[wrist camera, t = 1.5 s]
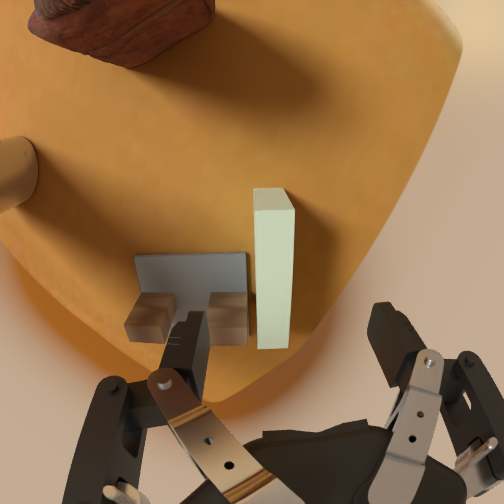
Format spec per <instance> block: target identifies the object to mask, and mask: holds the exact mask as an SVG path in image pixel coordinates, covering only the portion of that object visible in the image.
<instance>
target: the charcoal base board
mask: <svg viewBox="0 0 504 504" xmlns="http://www.w3.org/2000/svg"><path fill="white" fill-rule="evenodd" d="M133 258H134V262H135V267H136V271H137V275H138V279H139V283H140V287H141V291H142V292H166V293H174V297H175V302H176V307H177V310H176V313H175V315H174V318H173V321H172V324H171V327H170V330H169V333H168V336H167V337H169V335H170V332H171V329H172V328H173V327H174V326H175V324H176V323H177V322H178V321H186V319H187V316H188V312H189V311H205V312H206V315H207V310H208V305H209V301H210V296H211V292H247V270H246V252H221V253H186V254H151V255H135V256H134V257H133ZM247 297H248V294H247ZM248 337H249V316H248Z"/></svg>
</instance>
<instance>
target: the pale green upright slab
mask: <svg viewBox="0 0 504 504" xmlns="http://www.w3.org/2000/svg"><path fill="white" fill-rule="evenodd" d="M253 199H254V237H255V275H256V312H257V340H258V349H277V348H288V341H289V327H290V312H291V295H292V276H293V253H294V223H295V209H294V207H293V206H292V204H291V202H290V200H289V198H288V196H287V194H286V193H285V191H284V189H283V188H253Z"/></svg>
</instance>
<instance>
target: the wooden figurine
mask: <svg viewBox="0 0 504 504" xmlns="http://www.w3.org/2000/svg"><path fill="white" fill-rule="evenodd" d="M34 5H35V10H34V12H33V13H32V15H31V17H30V19H29V21H28V29H29V30H30V32H31V33H32V34H34V35H36V36H37V37H40V38H41V39H44V40H45V41H48V42H50V43H52V44H55V45H58V46H60V47H63V48H66V49H68V50H71V51H74V52H79V53H82V54H83V55H90V56H91V57H93V58H96V59H99V60H101V61H103V62H107V63H111V64H115V65H118V66H121V67H126V68H131V67H135V66H137V65H140V64H143V63H146V62H148V61H150V60H151V59H153V58H154V57H156V56H157V55H159V54H160V53H162V52H163V51H165V50H166V49H167V48H169V47H171V46H172V45H174V44H175V43H177V42H178V41H180V40H182V39H184V38H186V37H187V36H189V35H191V34H193V33H195V32H196V31H198V30H200V29H201V28H203V27H205V26H206V25H208V24H209V23H210V22H211V20H212V18H213V17H214V14H215V0H34Z"/></svg>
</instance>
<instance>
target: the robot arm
mask: <svg viewBox="0 0 504 504" xmlns="http://www.w3.org/2000/svg"><path fill="white" fill-rule="evenodd" d="M37 179H38V162H37V156H36V153H35V150H34V148H33V146H32V144H31V143H30V142H29V141H28V140H27V139H26V138H24V137H22V136H15V137H10V138H5V139H1V140H0V214H1V213H3V212H5V211H7V210H9V209H11V208H13V207H15V206H17V205H19V204H21V203H23V202H25V201H26V200H28V199H29V198H30V197H31V196H32V194H33V192H34V190H35V187H36V184H37ZM367 335H368V339H369V342H370V344H371V346H372V348H373V350H374V352H375V355H376V357H377V359H378V361H379V364H380V366H381V368H382V370H383V373H384V375H385V377H386V380H387V382H388V384H389V387H390V388H392V387H397V386H399V388H400V391H399V392H398V394H397V398H396V400H395V403H394V405H393V408H392V411H391V413H390V415H389V418H388V420H387V422H386V424H385V426H384V428H382V427H378V426H370V425H368V422H367V419H363V420H359V421H353V422H347V423H342V424H340V425H337V426H335V427H332V428H329V429H327V430H324V431H322V432H317V433H315V432H304V431H296V430H278V431H277V430H276V431H263V438H259V439H256V440H253V441H250V442H248V443H246V444H244V445H243V446H242V445H241V444H240V443H239V442H238V441H237V440H236V439H235V437H234V436H233V435H232V434H231V433H230V432H229V431H228V429H227V428H226V427H225V426H224V425H223V424H222V422H221V421H220V420H219V419H218V418H217V417H216V415H215V414H214V413H213V412H212V411H211V409H210V408H208V407H207V406H205V407H204V406H203V405H202V404H201V402H202V396H203V389H204V383H205V376H206V369H207V363H208V356H209V350H210V334H209V328H208V322H207V316H206V312H205V311H189V312H188V316H187V319H186V321H178V322H177V323H176V324H175V326H174V327H173V328H172V329H171V332H170V335H169V338H168V341H167V345H166V347H165V350H164V353H163V357H162V360H161V363H160V366H159V369H158V370H156V371H154V372H152V373H151V374H150V376H149V377H148V379H147V380H144V381H139V382H133V383H127V382H126V381H125V379H123V378H122V377H119V376H109V377H106V378H104V379H103V380H101V382H100V383H99V384H98V386H97V388H96V391H95V393H94V396H93V399H92V402H91V404H90V407H89V410H88V413H87V416H86V419H85V422H84V425H83V428H82V431H81V434H80V437H79V440H78V444H77V447H76V450H75V453H74V457H73V461H72V464H71V468H70V471H69V475H68V479H67V483H66V488H65V492H64V496H63V501H62V504H150V502H149V500H148V498H147V497H146V496H145V495H144V494H142V493H141V492H139V491H138V484H139V477H140V470H141V463H142V457H143V451H144V446H145V440H146V434H147V429H148V428H151V427H157V426H163V425H168V427H169V428H170V430H171V431H172V433H173V434H174V436H175V437H176V439H177V440H178V442H179V444H180V445H181V446H182V448H183V449H184V451H185V452H186V454H187V455H188V457H189V458H190V460H191V461H192V463H193V464H194V465H195V467H196V468H197V469H198V471H199V472H200V473H201V475H202V476H203V477H204V479H205V481H204V482H203V483H202V484H201V485H200V486H199V487H198V488H197V489H196V490H195V491H194V492H192V493H191V494H190V495H189V496H188V497H187V498H186V499H184V500H183V501H182V502H181V503H180V504H466V500H467V499H469V498H471V497H478V496H480V495H482V494H484V493H486V492H487V491H489V490H490V489H492V488H494V487H495V486H497V485H498V484H500V483H501V482H503V481H504V399H503V397H502V395H501V394H500V392H499V390H498V388H497V386H496V384H495V382H494V381H493V379H492V377H491V376H490V374H489V372H488V371H487V369H486V367H485V366H484V364H483V363H482V361H481V359H480V358H479V356H477V355H476V354H475V353H473V352H471V351H463V352H461V353H460V354H459V356H458V358H457V359H443V357H442V356H441V354H440V353H438V352H437V351H435V350H432V349H427V347H426V346H425V344H424V343H423V341H422V340H421V338H420V336H419V335H418V333H417V332H416V330H415V329H414V327H413V326H412V325H411V323H410V321H409V320H408V318H407V317H406V316H405V315H404V314H403V313H401V312H400V311H396V310H395V309H394V307H393V306H392V304H391V303H390V302H380V303H375V304H374V306H373V308H372V312H371V316H370V320H369V324H368V328H367ZM464 392H466V394H467V396H468V398H469V400H470V402H471V410H470V409H469V406H468V404H467V402H466V400H465V398H464V396H463V394H464ZM439 410H440V412H441V415H442V417H443V420H444V422H445V425H446V427H447V430H448V433H449V436H450V438H451V441H452V444H453V447H454V450H455V453H456V456H457V459H456V462H455V468H454V470H452V469H450V468H448V467H447V466H445V465H443V464H442V463H440V462H438V461H437V460H435V459H433V458H432V457H430V456H429V455H427V454H428V450H429V447H430V444H431V441H432V437H433V433H434V430H435V426H436V423H437V419H438V414H439Z"/></svg>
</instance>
